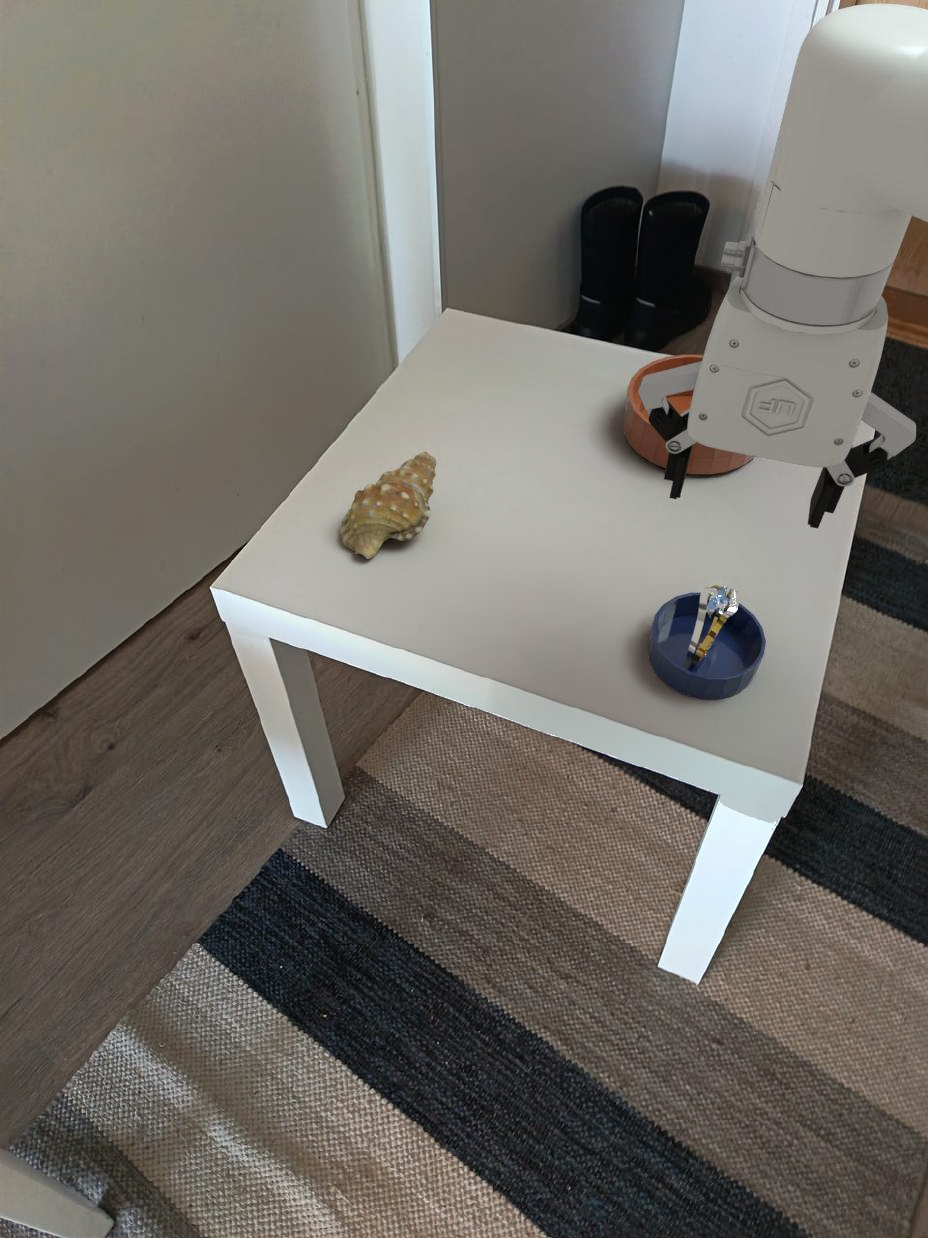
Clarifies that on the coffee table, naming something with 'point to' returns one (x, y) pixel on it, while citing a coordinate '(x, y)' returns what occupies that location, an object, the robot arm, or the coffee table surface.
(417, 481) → the seashell
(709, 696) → the blue round dish
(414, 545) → the coffee table surface
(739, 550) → the coffee table surface
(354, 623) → the coffee table surface
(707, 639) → the ring
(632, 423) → the bowl
